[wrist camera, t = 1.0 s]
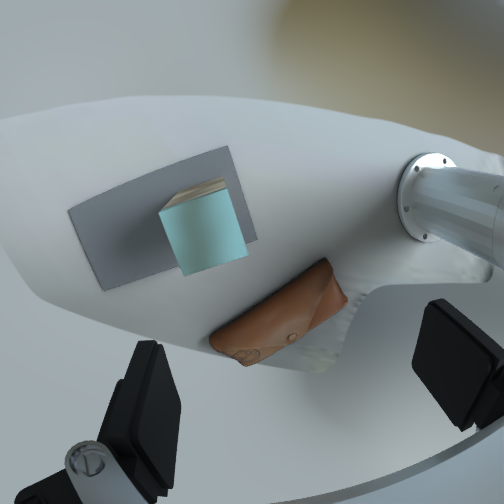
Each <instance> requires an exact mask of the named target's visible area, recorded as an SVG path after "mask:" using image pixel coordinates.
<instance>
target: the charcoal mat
mask: <svg viewBox="0 0 504 504" xmlns="http://www.w3.org/2000/svg"><path fill="white" fill-rule="evenodd" d="M222 176H223V178H224V181H225V184H226V187H227V190H228V193H229V196H230V199H231V202H232V205H233V208H234V211H235V214H236V217H237V221H238V224H239V227H240V230H241V233H242V236H243V239H244V242H245V244H246V243H249V242H252V241H255V240H258V239H257V236H256V233H255V230H254V227H253V223H252V220H251V217H250V214H249V211H248V208H247V204H246V201H245V198H244V195H243V192H242V189H241V185H240V182H239V179H238V176H237V173H236V170H235V167H234V163H233V160H232V157H231V154H230V151H229V148H228V146H225V147H222V148H219V149H216V150H213V151H210V152H207V153H204V154H201V155H198V156H195V157H192V158H189V159H186V160H184V161H181V162H178V163H175V164H173V165H170V166H167V167H165V168H162V169H159V170H157V171H154V172H152V173H149V174H147V175H144V176H142V177H139V178H137V179H135V180H132V181H130V182H127V183H125V184H123V185H120V186H118V187H116V188H113V189H111V190H109V191H107V192H105V193H102V194H100V195H98V196H96V197H94V198H91V199H89V200H87V201H85V202H83V203H81V204H79V205H77V206H75V207H73V208H71V209H69V213H70V215H71V218H72V221H73V223H74V226H75V228H76V231H77V233H78V236H79V238H80V240H81V243H82V245H83V247H84V250H85V252H86V254H87V256H88V259H89V261H90V263H91V265H92V267H93V270H94V272H95V274H96V276H97V278H98V280H99V282H100V284H101V286H102V288H103V290H104V291H106V290H109V289H112V288H115V287H118V286H121V285H124V284H127V283H130V282H133V281H136V280H139V279H142V278H145V277H147V276H150V275H153V274H156V273H159V272H162V271H165V270H168V269H171V268H174V267H177V266H179V264H178V261H177V259H176V256H175V254H174V251H173V249H172V246H171V244H170V241H169V239H168V236H167V234H166V231H165V229H164V226H163V223H162V221H161V218H160V216H159V212H160V211H161V210H162V209H163V207H164V206H165V205H166V204H167V203H168V202H169V201H170V200H171V199H172V198H173V197H174V196H175V195H176V194H177V193H178V192H179V191H181V190H184V189H187V188H190V187H192V186H195V185H198V184H201V183H204V182H207V181H210V180H213V179H216V178H219V177H222Z"/></svg>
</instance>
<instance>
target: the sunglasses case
mask: <svg viewBox="0 0 504 504" xmlns="http://www.w3.org/2000/svg"><path fill="white" fill-rule="evenodd" d="M347 303H348V300H347V297H346V296H345V295H344V294H343V292H342V290H341V288H340V286H339V284H338V283H337V281H336V279H335V276H334V274H333V268H332V266H331V264H330V263H329V261H328V260H327V258H323V259H321V260H319V261H318V262H316V263H315V264H314V265H313V266H311V267H310V268H308V269H307V270H306V271H304V272H303V273H302V274H301V275H299V276H298V277H297V278H295V279H294V280H292V281H291V282H289V283H288V284H287V285H285V286H284V287H283V288H281V289H280V290H278V291H277V292H275V293H274V294H272V295H271V296H269V297H268V298H266V299H265V300H264V301H262V302H261V303H259V304H258V305H256V306H255V307H253V308H252V309H250V310H249V311H247V312H246V313H244V314H243V315H241V316H239V317H238V318H236V319H235V320H233V321H232V322H230V323H228V324H227V325H225V326H223V327H222V328H220V329H219V330H217V331H216V332H214V333H213V334H211V335H210V337H209V341H210V344H211V346H212V347H213V348H214V349H215V350H216V351H218V352H221V353H224V354H226V355H228V356H230V357H231V358H233V359H235V360H237V361H238V362H239V363H240V364H241V365H243V366H245V367H247V366H250V365H253V364H255V363H257V362H259V361H261V360H263V359H265V358H267V357H268V356H270V355H272V354H273V353H275V352H277V351H278V350H280V349H282V348H283V347H285V346H286V345H289V344H291V343H293V342H295V341H296V340H298V339H300V338H301V337H302V336H304V335H305V333H307V332H308V331H310V330H311V329H313V328H315V327H316V326H318V325H319V324H321V323H322V322H324V321H325V320H327V319H328V318H330V317H331V316H332V315H334V314H335V313H337V312H338V311H339V310H341V309H342V308H343V307H344V306H345V305H346V304H347Z"/></svg>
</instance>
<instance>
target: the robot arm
mask: <svg viewBox="0 0 504 504" xmlns="http://www.w3.org/2000/svg"><path fill="white" fill-rule="evenodd" d="M397 203H398V212H399V215H400V219H401V221H402V224H403V226H404V228H405V229H406V230H407V232H408V233H409V234H410V235H411V236H412V237H414V238H416V239H418V240H420V241H422V242H428V243H432V242H437V241H439V240H441V239H444V240H446V241H448V242H450V243H452V244H454V245H456V246H458V247H460V248H462V249H464V250H466V251H468V252H470V253H472V254H474V255H476V256H478V257H480V258H482V259H484V260H486V261H487V262H489V263H491V264H493V265H495V266H497V267H499V268H501V269H503V270H504V176H500V175H495V174H491V173H486V172H480V171H475V170H469V169H464V168H458V167H456V165H455V164H454V163H453V162H452V161H451V160H450V159H449V158H448V157H446V156H444V155H442V154H439V153H425V154H422V155H420V156H418V157H416V158H415V159H414V160H413V161H412V162H411V163H410V164H409V165H408V167H407V168H406V170H405V172H404V174H403V175H402V178H401V181H400V184H399V190H398V202H397ZM412 368H413V370H414V372H415V373H416V374H417V375H418V377H419V378H420V379H421V381H422V382H423V383H424V385H425V386H426V387H427V389H428V390H429V392H430V393H431V394H432V396H433V397H434V398H435V400H436V401H437V402H438V404H439V405H440V407H441V408H442V409H443V411H444V412H445V413H446V415H447V416H448V418H449V419H450V420H451V422H452V423H453V424H454V426H457V427H458V428H459V429H460V431H461V432H463V431H464V430H466V429H468V428H470V427H472V425H473V424H474V422H475V424H476V425H477V426H476V433H475V434H474V435H472V436H470V437H469V438H467V439H465V440H463V441H461V442H460V443H458V444H456V445H454V446H452V447H450V448H448V449H446V450H445V451H442V452H440V453H438V454H436V455H434V456H432V457H430V458H428V459H425V460H423V461H421V462H419V463H417V464H414V465H412V466H410V467H407V468H405V469H402V470H400V471H397V472H395V473H392V474H389V475H386V476H383V477H381V478H378V479H375V480H372V481H369V482H366V483H362V484H359V485H356V486H352V487H349V488H345V489H342V490H338V491H334V492H330V493H326V494H321V495H317V496H312V497H307V498H302V499H297V500H291V501H285V502H278V503H272V504H504V349H503V348H502V347H501V346H499V345H498V344H497V343H496V342H495V341H494V340H493V339H491V338H490V337H489V336H488V335H487V334H486V333H485V332H484V331H482V330H481V329H480V328H479V327H478V326H476V325H475V324H474V323H473V322H472V321H471V320H469V319H468V318H467V317H466V316H465V315H463V314H462V313H461V312H460V311H459V310H457V309H456V308H455V307H454V306H452V305H451V304H450V303H449V302H447V301H446V300H445V299H437V300H433V301H430V302H429V303H428V305H427V306H426V307H425V310H424V315H423V319H422V324H421V328H420V332H419V336H418V340H417V344H416V348H415V352H414V355H413V359H412ZM180 414H181V401H180V398H179V395H178V392H177V389H176V386H175V383H174V380H173V377H172V374H171V371H170V368H169V364H168V361H167V358H166V354H165V351H164V348H163V345H162V344H157V342H156V341H155V340H146V341H138V343H137V345H136V348H135V350H134V353H133V356H132V358H131V361H130V363H129V366H128V369H127V372H126V374H125V377H124V379H120V380H119V381H118V382H117V384H116V387H115V389H114V392H113V395H112V397H111V400H110V403H109V406H108V408H107V411H106V414H105V417H104V420H103V423H102V426H101V429H100V432H99V435H98V438H97V441H92V440H91V441H83V442H79V443H77V444H76V445H74V446H73V447H72V448H71V449H70V450H69V451H68V452H67V455H66V457H65V469H63V470H61V471H59V472H57V473H55V474H53V475H51V476H49V477H47V478H45V479H43V480H41V481H39V482H37V483H35V484H33V485H31V486H28V487H26V488H24V489H23V490H21V491H20V492H19V493H18V495H17V496H16V498H15V501H14V504H155V503H156V502H157V496H163V497H167V495H168V489H172V488H173V485H174V474H175V463H176V452H177V442H178V433H179V423H180Z"/></svg>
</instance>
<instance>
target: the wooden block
mask: <svg viewBox="0 0 504 504" xmlns="http://www.w3.org/2000/svg"><path fill="white" fill-rule="evenodd" d="M159 216H160V218H161V221H162V223H163V226H164V229H165V231H166V234H167V236H168V239H169V241H170V244H171V246H172V249H173V251H174V254H175V256H176V259H177V261H178V264H179V266H180V269H181V271H182V273H183V276H187V275H190V274H193V273H196V272H199V271H202V270H205V269H208V268H211V267H214V266H217V265H220V264H223V263H226V262H229V261H232V260H235V259H238V258H242V257H245V256H248V255H249V254H248V251H247V248H246V245H245V242H244V239H243V236H242V233H241V230H240V227H239V224H238V221H237V217H236V214H235V211H234V208H233V205H232V202H231V199H230V196H229V193H228V190H227V187H226V184H225V181H224V178H223V176H222V177H219V178H216V179H213V180H210V181H207V182H204V183H201V184H198V185H195V186H192V187H190V188H187V189H184V190H181V191H179V192H178V193H177V194H176V195H175V196H174V197H173V198H172V199H171V200H170V201H169V202H168V203H167V204H166V205H165V206H164V207H163V209H162V210H161V211H160V212H159Z"/></svg>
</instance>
